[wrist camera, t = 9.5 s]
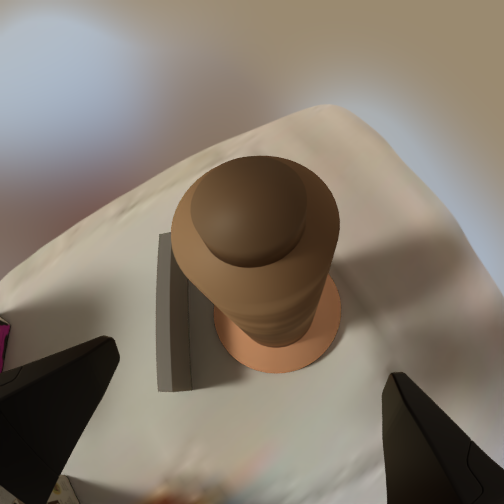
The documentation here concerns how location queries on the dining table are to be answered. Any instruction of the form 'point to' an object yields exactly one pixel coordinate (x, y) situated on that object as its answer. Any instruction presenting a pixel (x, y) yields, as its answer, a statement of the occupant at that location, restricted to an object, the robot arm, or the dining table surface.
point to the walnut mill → (259, 244)
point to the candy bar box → (3, 340)
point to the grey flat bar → (171, 322)
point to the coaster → (290, 355)
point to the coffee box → (60, 493)
